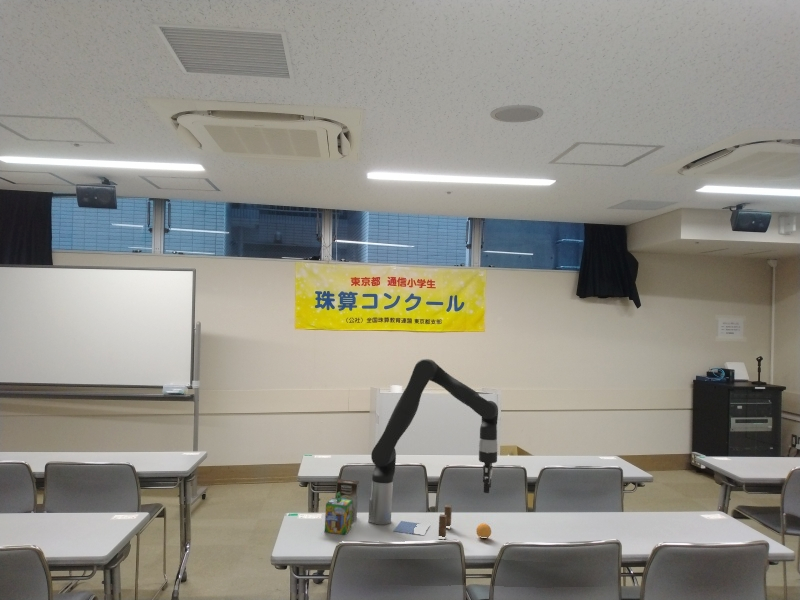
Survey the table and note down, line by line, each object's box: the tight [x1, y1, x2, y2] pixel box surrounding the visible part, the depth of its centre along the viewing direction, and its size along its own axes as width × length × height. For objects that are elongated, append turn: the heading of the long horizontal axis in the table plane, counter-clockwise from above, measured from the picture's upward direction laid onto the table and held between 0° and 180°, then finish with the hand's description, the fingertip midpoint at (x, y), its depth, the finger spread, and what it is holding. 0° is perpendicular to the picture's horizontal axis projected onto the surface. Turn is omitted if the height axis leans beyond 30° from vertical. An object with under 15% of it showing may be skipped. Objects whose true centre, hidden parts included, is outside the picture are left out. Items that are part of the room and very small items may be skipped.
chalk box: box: [324, 492, 353, 535], centre depth 210 cm, size 9×9×15 cm
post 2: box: [443, 504, 453, 526], centre depth 219 cm, size 3×3×9 cm
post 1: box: [438, 513, 447, 537], centre depth 206 cm, size 3×3×9 cm
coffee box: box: [335, 478, 360, 523], centre depth 224 cm, size 9×6×16 cm
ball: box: [475, 522, 492, 538], centre depth 208 cm, size 6×6×6 cm
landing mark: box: [393, 520, 420, 535], centre depth 216 cm, size 13×13×1 cm
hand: (487, 490), depth 210 cm, fingers open, 8 cm apart
